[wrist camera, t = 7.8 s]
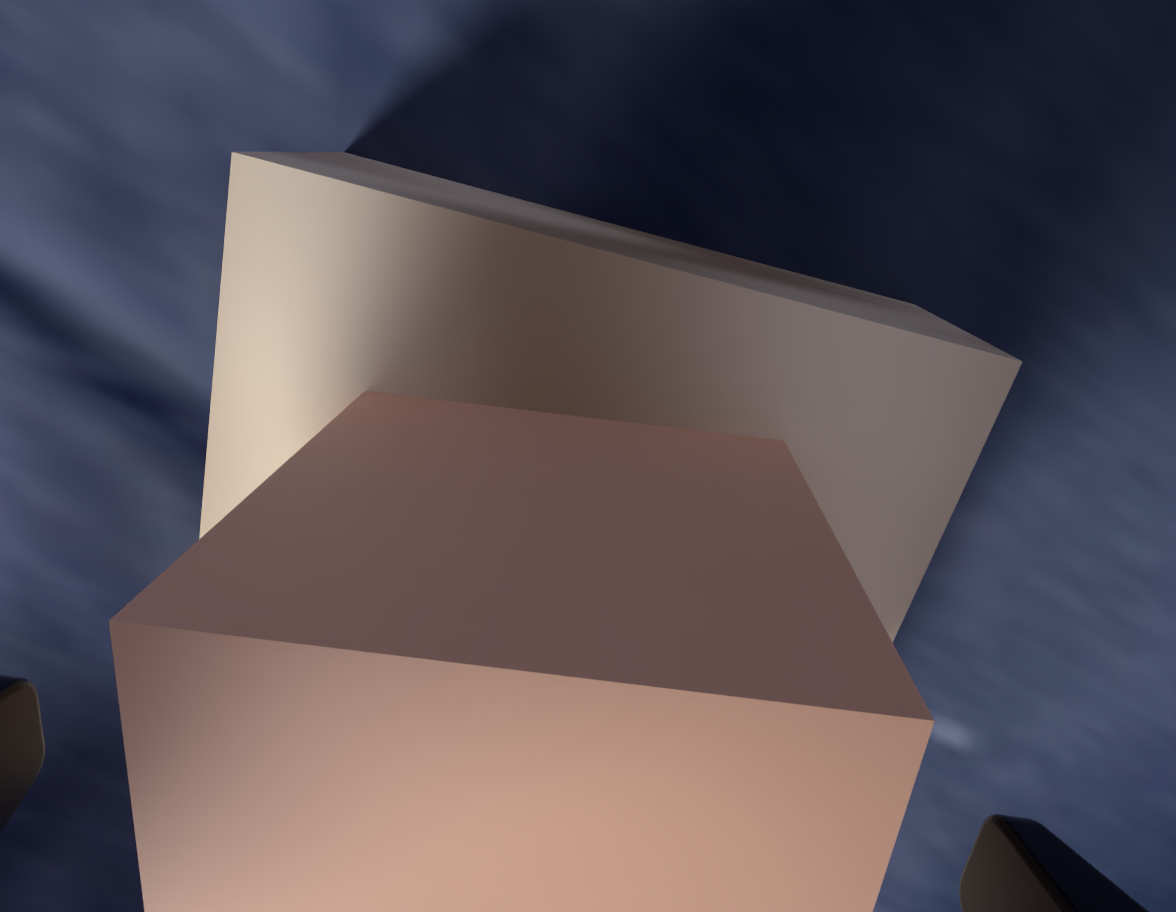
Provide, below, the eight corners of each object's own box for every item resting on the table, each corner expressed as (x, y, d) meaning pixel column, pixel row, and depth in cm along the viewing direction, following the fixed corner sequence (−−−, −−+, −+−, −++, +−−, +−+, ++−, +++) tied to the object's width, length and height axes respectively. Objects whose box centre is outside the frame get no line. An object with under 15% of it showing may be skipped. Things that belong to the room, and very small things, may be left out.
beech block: (907, 300, 13) (1022, 361, 9) (732, 739, 16) (764, 919, 12) (352, 151, 12) (231, 151, 9) (286, 633, 16) (178, 785, 12)
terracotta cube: (784, 440, 9) (935, 719, 5) (713, 772, 11) (774, 1212, 7) (364, 390, 10) (108, 622, 5) (361, 730, 11) (172, 1138, 7)
